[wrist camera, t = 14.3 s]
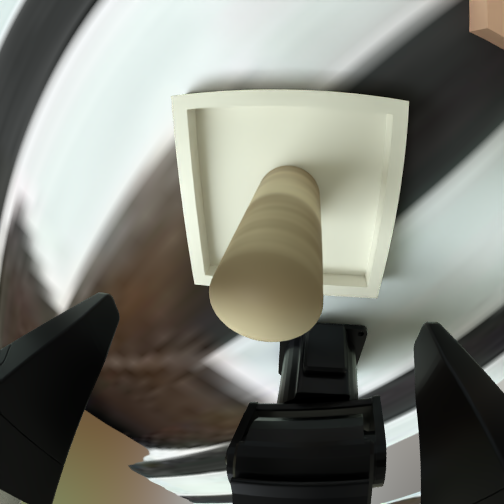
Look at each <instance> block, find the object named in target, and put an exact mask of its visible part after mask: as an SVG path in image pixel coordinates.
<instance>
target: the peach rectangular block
mask: <svg viewBox="0 0 504 504" xmlns="http://www.w3.org/2000/svg"><path fill="white" fill-rule="evenodd" d="M469 9H470V26H469V32H471V33H473V34H475V35H477V36H479V37H481V38H483V39H485V40H487V41H489V42H491V43H493V44H494V45H496V46H498V47H500V48H502V49H503V50H504V0H469Z"/></svg>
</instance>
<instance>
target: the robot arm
mask: <svg viewBox="0 0 504 504" xmlns="http://www.w3.org/2000/svg"><path fill="white" fill-rule="evenodd" d="M118 322H119V312H118V309H117V307H116V304H115V302H114V299H113V297H112V296H111V295H110V294H107V293H97V294H95V295H94V296H92V297H90V298H88V299H86V300H85V301H83V302H81V303H79V304H77V305H76V306H74V307H72V308H70V309H69V310H67V311H65V312H63V313H62V314H60V315H58V316H56V317H55V318H53V319H51V320H50V321H48V322H46V323H44V324H43V325H41V326H39V327H38V328H36V329H34V330H32V331H31V332H29V333H27V334H26V335H24V336H22V337H21V338H19V339H17V340H16V341H14V342H12V344H9V345H7V346H6V347H4V348H3V349H1V350H0V504H21V501H23V502H26V503H27V504H52V503H53V499H54V496H55V492H56V489H57V486H58V483H59V480H60V476H61V473H62V470H63V467H64V464H65V461H66V458H67V455H68V452H69V449H70V447H71V444H72V441H73V438H74V435H75V433H76V430H77V428H78V425H79V422H80V420H81V417H82V414H83V412H84V410H85V407H86V405H87V402H88V400H89V397H90V395H91V393H92V390H93V388H94V385H95V383H96V381H97V378H98V376H99V374H100V372H101V369H102V367H103V365H104V362H105V360H106V357H107V354H108V351H109V348H110V345H111V342H112V339H113V336H114V334H115V331H116V328H117V325H118ZM366 336H367V328H366V327H365V326H362V325H342V324H324V323H316V324H315V325H314V326H313V327H312V328H311V329H310V330H309V331H308V332H306V333H304V334H303V335H301V336H299V337H297V338H294V339H291V340H287V341H280V354H279V374H280V375H281V381H280V387H279V394H278V400H277V404H260V403H258V402H250V403H249V405H248V407H247V410H246V411H245V413H244V415H243V417H242V419H241V421H240V424H239V426H238V428H237V430H236V432H235V434H234V437H233V439H232V441H231V443H230V445H229V447H228V449H227V453H226V457H225V463H226V464H227V476H228V480H229V482H230V484H231V488H232V496H233V504H371V496H372V488H374V487H382V486H383V484H384V480H385V473H386V439H385V430H384V422H383V415H382V408H381V401H380V395H378V396H372V397H371V398H364V399H358V386H357V368H356V366H357V363H358V360H359V357H360V354H361V352H362V349H363V346H364V343H365V339H366ZM414 364H415V396H416V408H417V417H418V428H419V440H420V461H421V504H504V393H503V392H502V391H501V390H500V388H499V387H498V386H497V385H496V384H495V383H494V381H493V380H492V379H491V378H490V377H489V376H488V375H487V373H486V372H485V371H484V370H483V369H482V368H481V367H480V366H479V365H478V363H477V362H476V361H475V360H474V359H473V358H472V357H471V356H470V355H469V354H468V353H467V351H466V350H465V349H464V348H463V347H462V346H461V345H460V344H459V343H458V342H457V341H456V340H455V339H454V338H453V337H452V336H451V335H450V334H449V333H448V332H447V331H446V330H445V329H444V327H443V326H442V325H441V324H439V323H438V322H426V323H424V324H423V326H422V328H421V330H420V333H419V335H418V337H417V339H416V341H415V344H414Z"/></svg>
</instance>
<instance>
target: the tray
mask: <svg viewBox="0 0 504 504" xmlns="http://www.w3.org/2000/svg"><path fill="white" fill-rule="evenodd" d="M171 100H172V112H173V124H174V135H175V145H176V155H177V164H178V173H179V181H180V189H181V197H182V205H183V212H184V219H185V226H186V233H187V240H188V246H189V253H190V259H191V265H192V271H193V277H194V283H195V284H197V285H207V286H210V283H211V280H212V278H213V275H214V273H215V271H216V269H217V267H218V265H219V263H220V261H221V259H222V257H223V255H224V253H225V251H226V249H227V247H228V245H229V243H230V241H231V239H232V237H233V235H234V233H235V231H236V229H237V227H238V225H239V224H240V222H241V220H242V218H243V216H244V214H245V212H246V210H247V208H248V206H249V204H250V202H251V200H252V198H253V196H254V194H255V192H256V190H257V188H258V186H259V185H260V183H261V181H262V179H263V178H264V176H265V175H266V174H267V173H268V172H270V171H271V170H273V169H275V168H277V167H280V166H295V167H299V168H301V169H303V170H305V171H307V172H308V173H309V174H310V175H311V176H312V177H313V178H314V179H315V181H316V182H317V185H318V187H319V192H320V207H321V227H322V254H323V295H327V296H343V297H360V298H377V297H378V293H379V290H380V286H381V282H382V278H383V274H384V270H385V265H386V261H387V257H388V252H389V248H390V243H391V238H392V233H393V228H394V223H395V218H396V212H397V207H398V201H399V194H400V188H401V181H402V174H403V166H404V158H405V148H406V138H407V127H408V113H409V101H405V100H400V99H394V98H387V97H380V96H373V95H364V94H355V93H345V92H333V91H318V90H293V89H255V90H229V91H214V92H202V93H191V94H183V95H175V96H171Z"/></svg>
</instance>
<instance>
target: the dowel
mask: <svg viewBox="0 0 504 504" xmlns="http://www.w3.org/2000/svg"><path fill="white" fill-rule="evenodd" d="M209 297H210V302H211V305H212V307H213V309H214V311H215V313H216V315H217V316H218V317H219V319H220V320H221V321H222V322H223V323H224V324H225V325H227V326H228V327H229V328H230V329H232V330H233V331H235V332H237V333H238V334H240V335H243V336H245V337H248V338H250V339H254V340H258V341H264V342H280V341H287V340H291V339H294V338H297V337H299V336H301V335H303V334H304V333H306V332H308V331H309V330H310V329H311V328H312V327H313V326H314V325H315V324H316V323H317V321H318V319H319V318H320V315H321V313H322V309H323V254H322V227H321V207H320V192H319V187H318V185H317V182H316V181H315V179H314V178H313V177H312V176H311V175H310V174H309V173H308V172H307V171H305V170H303V169H301V168H299V167H295V166H280V167H277V168H275V169H273V170H271V171H270V172H268V173H267V174H266V175H265V176H264V178H263V179H262V181H261V183H260V185H259V186H258V188H257V190H256V192H255V194H254V196H253V198H252V200H251V202H250V204H249V206H248V208H247V210H246V212H245V214H244V216H243V218H242V220H241V222H240V224H239V225H238V227H237V229H236V231H235V233H234V235H233V237H232V239H231V241H230V243H229V245H228V247H227V249H226V251H225V253H224V255H223V257H222V259H221V261H220V263H219V265H218V267H217V269H216V271H215V273H214V275H213V278H212V280H211V283H210V287H209Z"/></svg>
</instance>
